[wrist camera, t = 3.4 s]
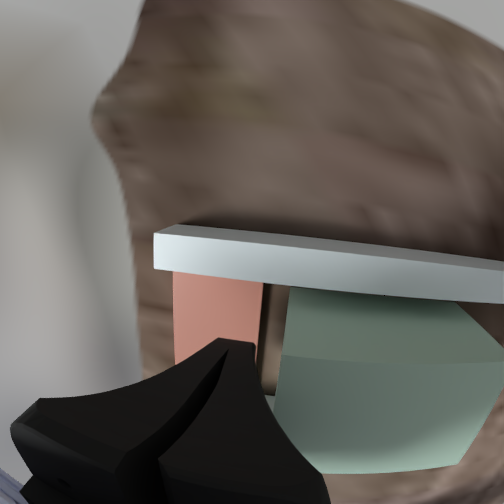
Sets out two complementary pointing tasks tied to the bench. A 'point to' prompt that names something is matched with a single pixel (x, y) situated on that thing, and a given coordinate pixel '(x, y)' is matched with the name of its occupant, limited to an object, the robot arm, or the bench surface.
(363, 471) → the block
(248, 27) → the bench surface
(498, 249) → the bench surface
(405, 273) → the channel
